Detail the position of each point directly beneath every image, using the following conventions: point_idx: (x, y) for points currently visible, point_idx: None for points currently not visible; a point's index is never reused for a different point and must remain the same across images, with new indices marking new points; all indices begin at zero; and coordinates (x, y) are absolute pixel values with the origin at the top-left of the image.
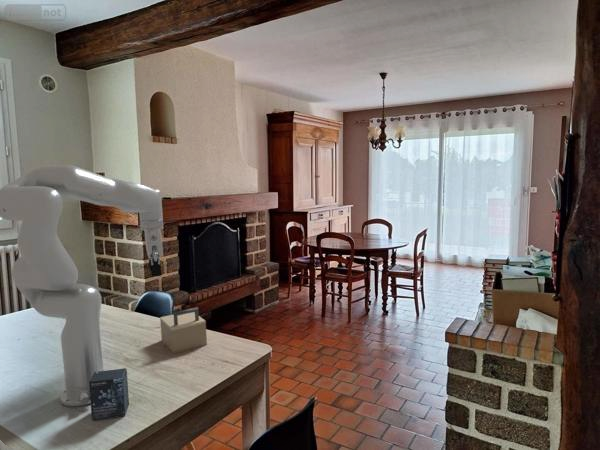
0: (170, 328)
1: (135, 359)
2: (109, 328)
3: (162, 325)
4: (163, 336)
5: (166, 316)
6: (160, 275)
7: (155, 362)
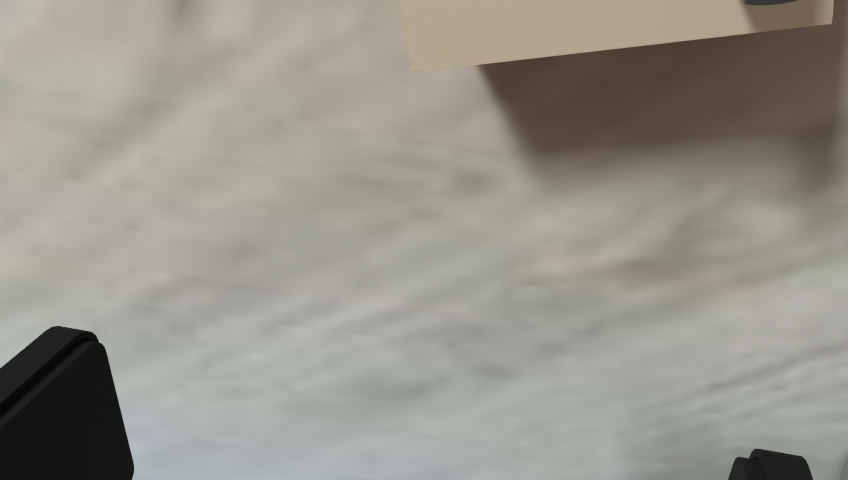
0: (768, 28)
1: (686, 230)
2: (116, 279)
3: None
4: None
5: (415, 11)
6: (796, 464)
7: (834, 130)
